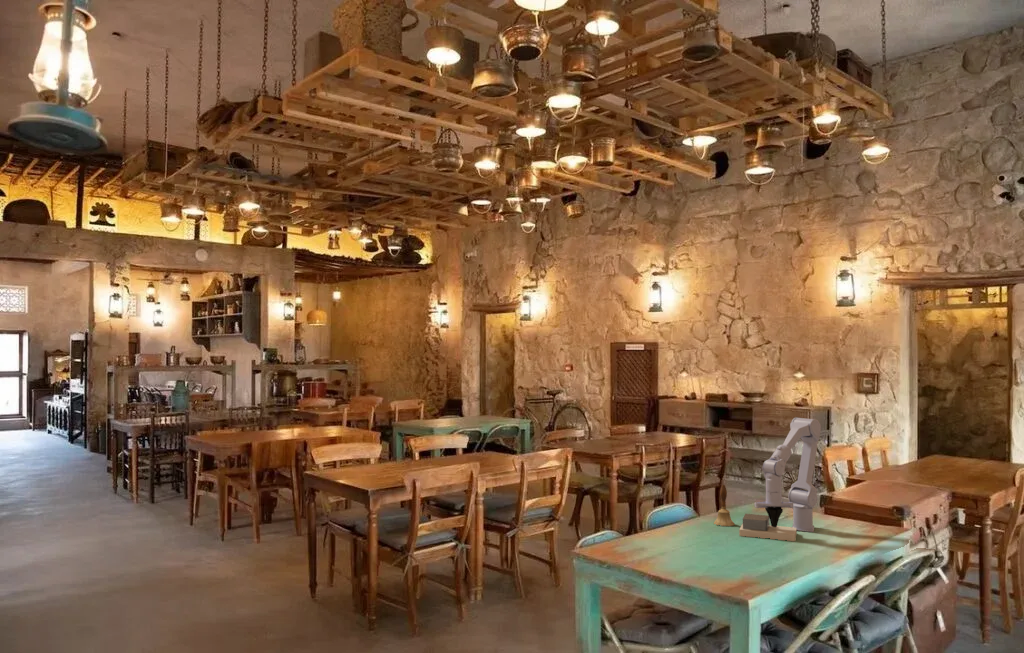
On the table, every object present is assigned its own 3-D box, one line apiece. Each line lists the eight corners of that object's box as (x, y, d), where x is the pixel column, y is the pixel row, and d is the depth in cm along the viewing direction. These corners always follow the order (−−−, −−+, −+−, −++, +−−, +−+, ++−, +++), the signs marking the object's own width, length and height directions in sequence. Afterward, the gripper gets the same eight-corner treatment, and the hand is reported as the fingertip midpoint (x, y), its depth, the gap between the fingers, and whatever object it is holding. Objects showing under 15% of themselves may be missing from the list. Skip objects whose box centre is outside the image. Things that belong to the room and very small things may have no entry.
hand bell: (709, 523, 300) (708, 484, 301) (725, 521, 304) (724, 482, 304) (723, 527, 293) (722, 487, 293) (739, 525, 296) (738, 486, 297)
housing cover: (745, 523, 289) (745, 513, 289) (769, 525, 285) (769, 515, 285) (742, 528, 280) (742, 518, 280) (767, 530, 276) (767, 520, 277)
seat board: (742, 528, 290) (742, 522, 290) (796, 533, 282) (796, 527, 282) (739, 535, 279) (739, 529, 279) (795, 541, 271) (794, 534, 271)
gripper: (787, 488, 285) (788, 523, 284) (751, 489, 284) (751, 524, 283) (795, 492, 278) (795, 528, 277) (758, 492, 277) (758, 528, 276)
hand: (774, 526), depth 280 cm, fingers closed
